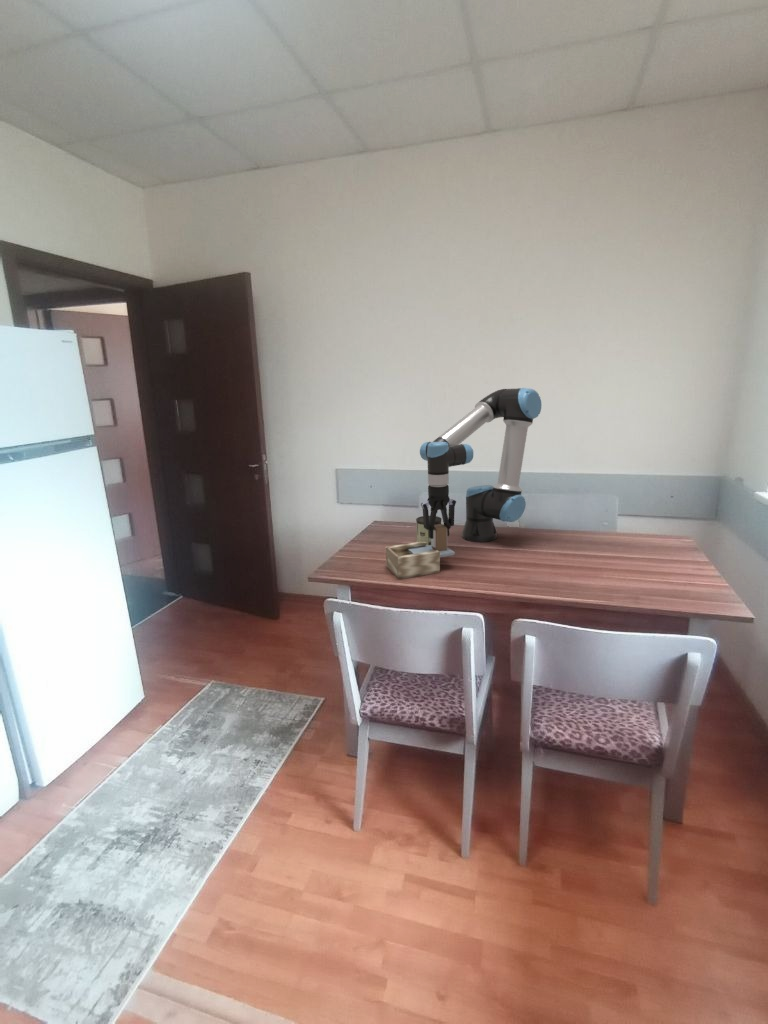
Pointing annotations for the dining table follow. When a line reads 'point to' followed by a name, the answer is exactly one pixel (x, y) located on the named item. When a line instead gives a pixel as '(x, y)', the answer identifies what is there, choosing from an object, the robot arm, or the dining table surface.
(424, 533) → the coffee can
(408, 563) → the box
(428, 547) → the lid
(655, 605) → the dining table surface
